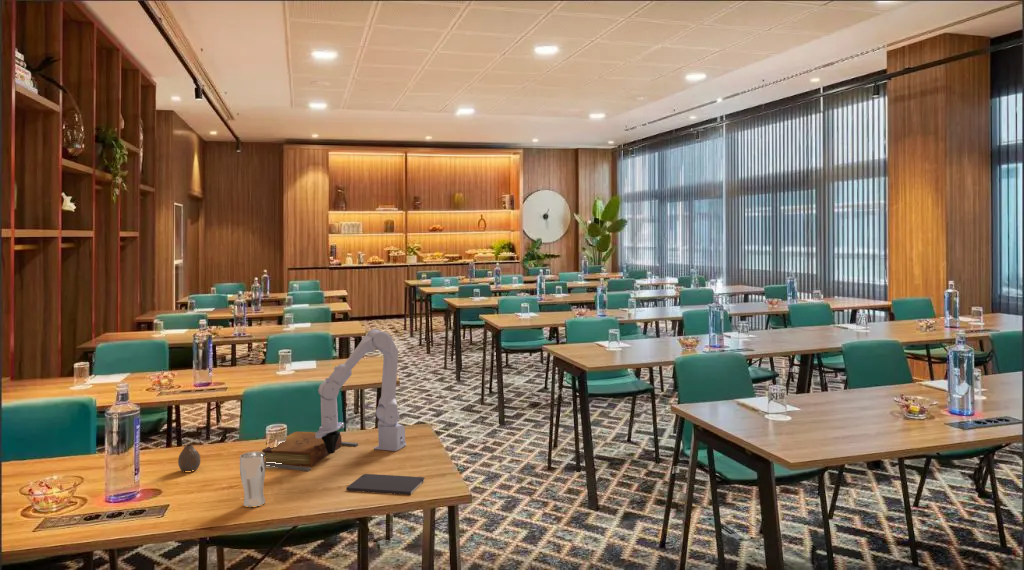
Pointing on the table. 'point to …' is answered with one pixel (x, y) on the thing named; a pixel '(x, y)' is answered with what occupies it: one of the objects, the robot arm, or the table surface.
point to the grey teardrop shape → (189, 459)
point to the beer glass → (253, 477)
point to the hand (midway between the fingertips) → (331, 452)
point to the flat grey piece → (301, 466)
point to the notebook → (386, 484)
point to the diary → (299, 450)
